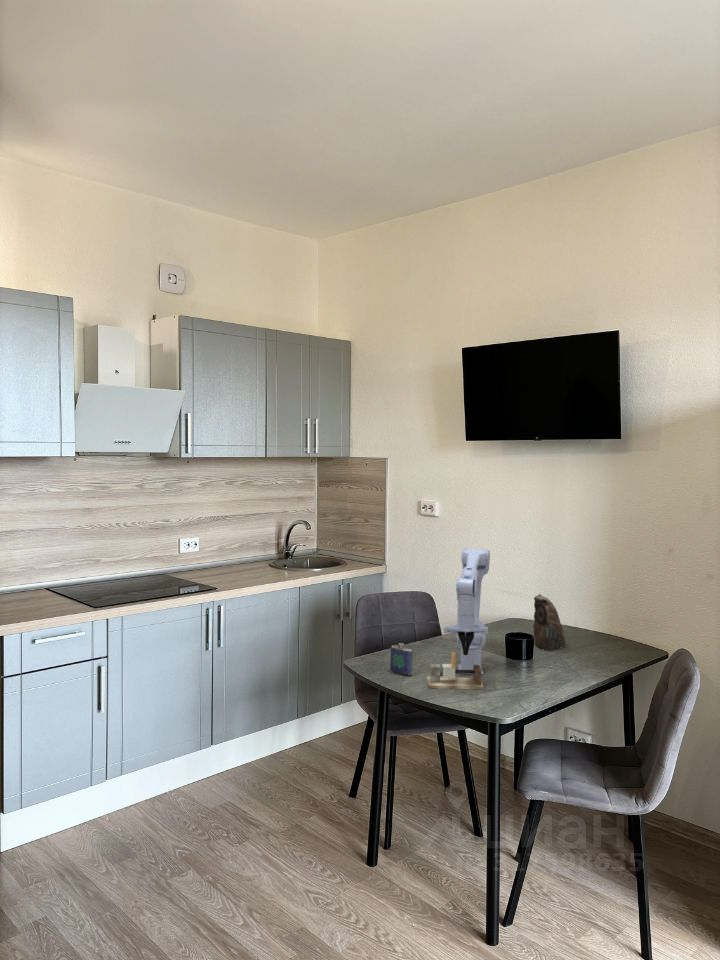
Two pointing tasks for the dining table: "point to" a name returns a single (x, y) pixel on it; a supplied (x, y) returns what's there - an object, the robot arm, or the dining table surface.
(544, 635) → the owl
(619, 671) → the dining table surface
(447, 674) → the sleeve
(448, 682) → the board
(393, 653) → the flask
